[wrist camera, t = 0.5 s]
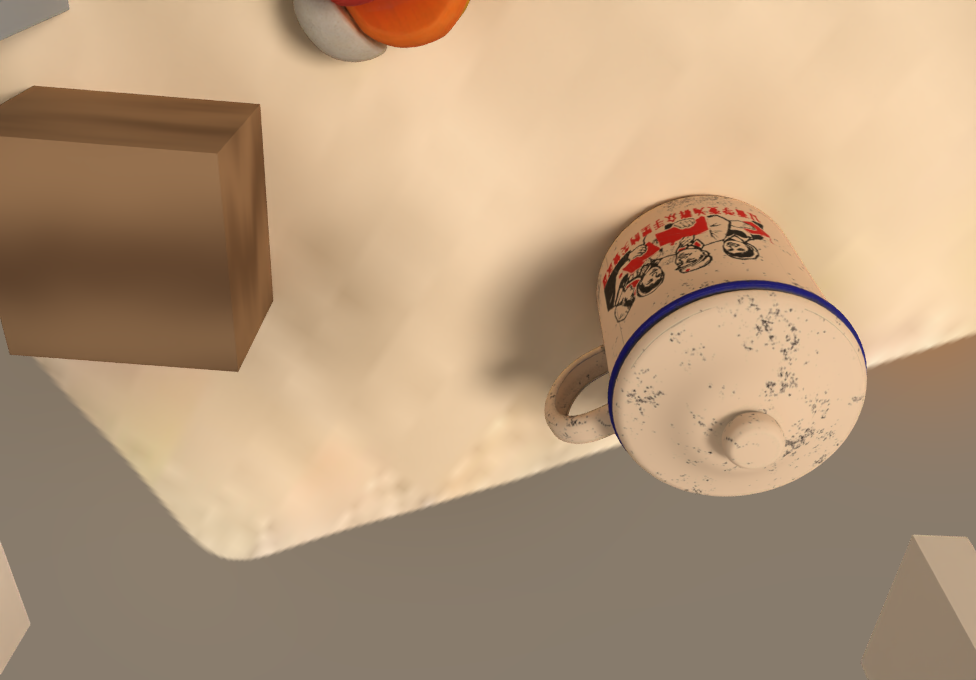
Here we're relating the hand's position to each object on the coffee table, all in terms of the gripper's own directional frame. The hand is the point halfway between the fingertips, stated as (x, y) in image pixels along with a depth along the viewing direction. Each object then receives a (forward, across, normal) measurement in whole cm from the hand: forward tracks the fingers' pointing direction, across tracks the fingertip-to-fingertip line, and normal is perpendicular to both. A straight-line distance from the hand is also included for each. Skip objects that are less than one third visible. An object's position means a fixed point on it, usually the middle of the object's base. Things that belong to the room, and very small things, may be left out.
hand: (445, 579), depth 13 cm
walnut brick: (+25, -14, -5) cm, 29 cm away
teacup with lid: (+25, +8, -9) cm, 28 cm away
